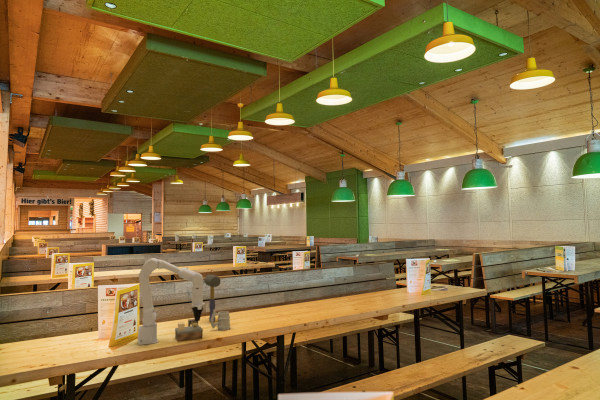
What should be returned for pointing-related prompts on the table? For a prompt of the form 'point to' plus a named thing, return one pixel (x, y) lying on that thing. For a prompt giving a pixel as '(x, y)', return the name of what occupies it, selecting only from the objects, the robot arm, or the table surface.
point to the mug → (221, 320)
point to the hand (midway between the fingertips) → (197, 320)
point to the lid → (187, 328)
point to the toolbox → (189, 334)
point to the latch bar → (194, 323)
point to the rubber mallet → (212, 291)
